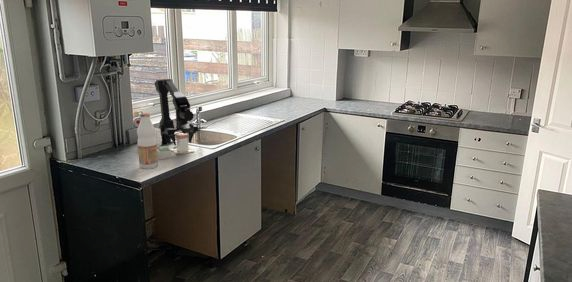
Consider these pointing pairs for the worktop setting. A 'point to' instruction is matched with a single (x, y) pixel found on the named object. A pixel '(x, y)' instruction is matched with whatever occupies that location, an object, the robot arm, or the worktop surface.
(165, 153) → the button base
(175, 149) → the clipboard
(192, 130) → the robot arm
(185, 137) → the white pill bottle
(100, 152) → the worktop surface
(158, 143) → the mug
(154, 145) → the fruit juice
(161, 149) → the button
